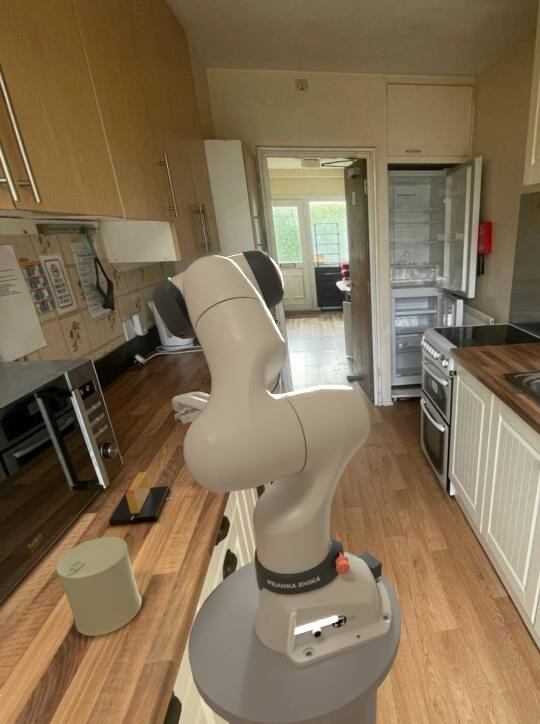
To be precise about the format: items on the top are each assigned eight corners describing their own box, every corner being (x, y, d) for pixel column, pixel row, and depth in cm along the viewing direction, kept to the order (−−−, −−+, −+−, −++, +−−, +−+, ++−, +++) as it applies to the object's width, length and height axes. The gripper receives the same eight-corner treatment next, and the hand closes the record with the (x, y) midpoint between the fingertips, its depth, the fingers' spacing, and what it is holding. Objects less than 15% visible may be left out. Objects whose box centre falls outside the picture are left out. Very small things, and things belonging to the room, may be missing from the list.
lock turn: (142, 491, 99) (138, 471, 97) (150, 490, 99) (145, 470, 97) (130, 514, 91) (125, 493, 89) (138, 513, 91) (133, 492, 89)
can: (61, 628, 66) (38, 568, 62) (110, 585, 75) (94, 529, 70) (108, 643, 64) (89, 581, 60) (154, 597, 72) (140, 540, 68)
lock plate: (119, 494, 100) (117, 488, 99) (179, 488, 103) (178, 482, 102) (98, 529, 88) (96, 523, 88) (167, 522, 91) (165, 515, 90)
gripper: (199, 382, 115) (150, 397, 104) (252, 398, 105) (204, 417, 94) (202, 404, 117) (154, 421, 106) (254, 422, 108) (208, 442, 97)
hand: (178, 419), depth 100 cm, fingers closed
